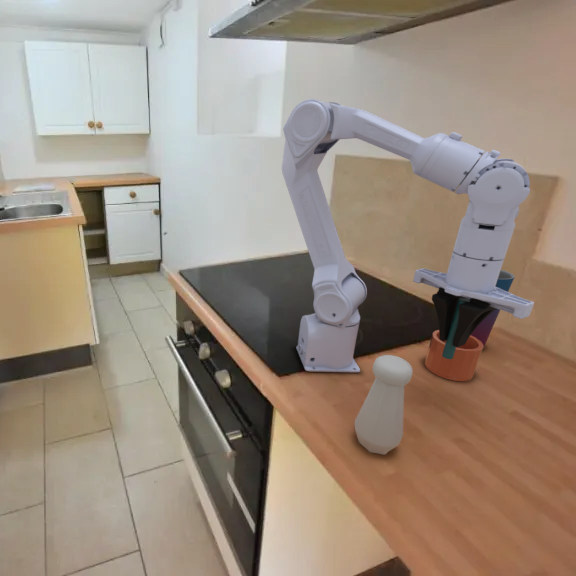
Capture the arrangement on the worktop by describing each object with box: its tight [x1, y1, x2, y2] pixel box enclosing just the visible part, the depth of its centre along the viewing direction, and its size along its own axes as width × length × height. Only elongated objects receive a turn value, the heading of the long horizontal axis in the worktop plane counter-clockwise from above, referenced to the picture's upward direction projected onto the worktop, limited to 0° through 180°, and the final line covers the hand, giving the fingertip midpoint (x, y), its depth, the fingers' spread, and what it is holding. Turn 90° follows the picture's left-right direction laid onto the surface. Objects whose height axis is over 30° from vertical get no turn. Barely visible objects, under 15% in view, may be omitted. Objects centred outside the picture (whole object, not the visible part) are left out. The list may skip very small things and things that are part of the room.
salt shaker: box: [353, 354, 413, 456], centre depth 49 cm, size 6×6×13 cm
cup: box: [469, 269, 515, 349], centre depth 72 cm, size 7×7×15 cm
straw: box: [442, 298, 470, 359], centre depth 56 cm, size 1×1×10 cm
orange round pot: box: [424, 329, 484, 382], centre depth 66 cm, size 7×7×6 cm
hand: (451, 341), depth 56 cm, fingers closed on straw, 1 cm apart
